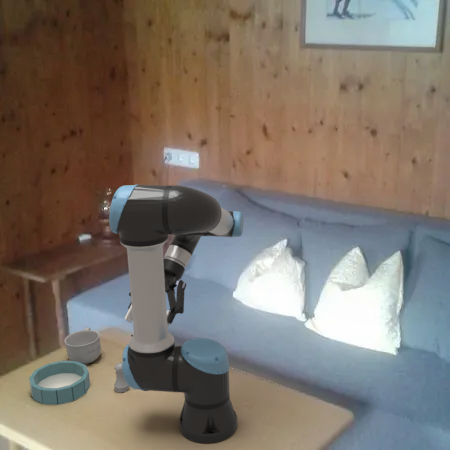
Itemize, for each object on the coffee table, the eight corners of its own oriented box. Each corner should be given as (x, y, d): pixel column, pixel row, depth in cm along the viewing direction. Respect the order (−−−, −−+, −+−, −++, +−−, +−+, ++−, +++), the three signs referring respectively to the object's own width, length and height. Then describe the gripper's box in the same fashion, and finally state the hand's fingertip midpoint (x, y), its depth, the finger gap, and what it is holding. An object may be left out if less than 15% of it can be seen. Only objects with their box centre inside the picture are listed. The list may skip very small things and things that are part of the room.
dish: (101, 384, 195) (99, 371, 194) (56, 411, 182) (55, 396, 181) (64, 368, 204) (62, 355, 203) (19, 392, 192) (18, 379, 191)
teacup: (94, 369, 203) (91, 346, 201) (61, 366, 206) (58, 343, 203) (110, 347, 216) (108, 325, 214) (79, 345, 218) (76, 323, 216)
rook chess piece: (111, 391, 191) (108, 367, 189) (118, 383, 195) (116, 359, 193) (125, 394, 190) (122, 369, 187) (132, 386, 194) (130, 361, 191)
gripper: (212, 277, 198) (182, 342, 192) (151, 260, 213) (121, 320, 206) (200, 266, 192) (169, 332, 186) (138, 250, 207) (107, 311, 200)
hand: (144, 326), depth 196 cm, fingers open, 13 cm apart
